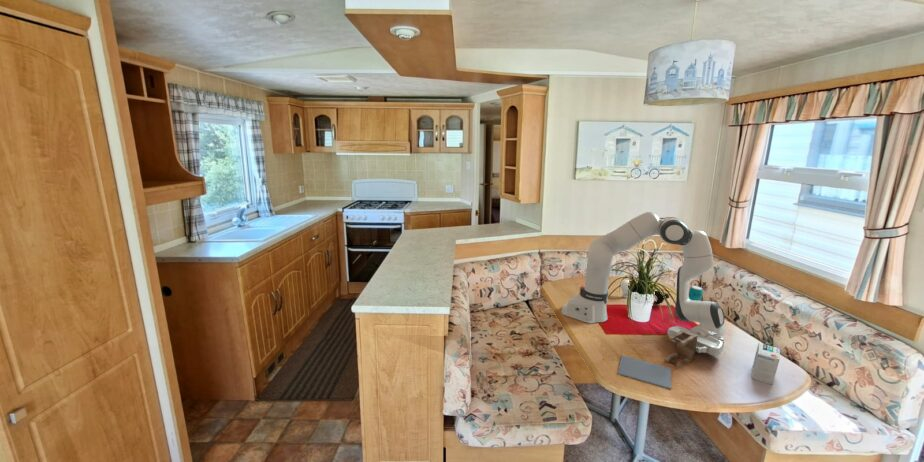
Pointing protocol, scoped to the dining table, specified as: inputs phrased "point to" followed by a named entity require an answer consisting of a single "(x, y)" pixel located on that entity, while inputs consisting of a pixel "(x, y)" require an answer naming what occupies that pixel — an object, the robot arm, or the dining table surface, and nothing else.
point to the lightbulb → (624, 287)
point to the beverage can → (695, 293)
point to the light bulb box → (765, 363)
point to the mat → (645, 371)
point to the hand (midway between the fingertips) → (685, 345)
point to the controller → (660, 297)
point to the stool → (683, 347)
